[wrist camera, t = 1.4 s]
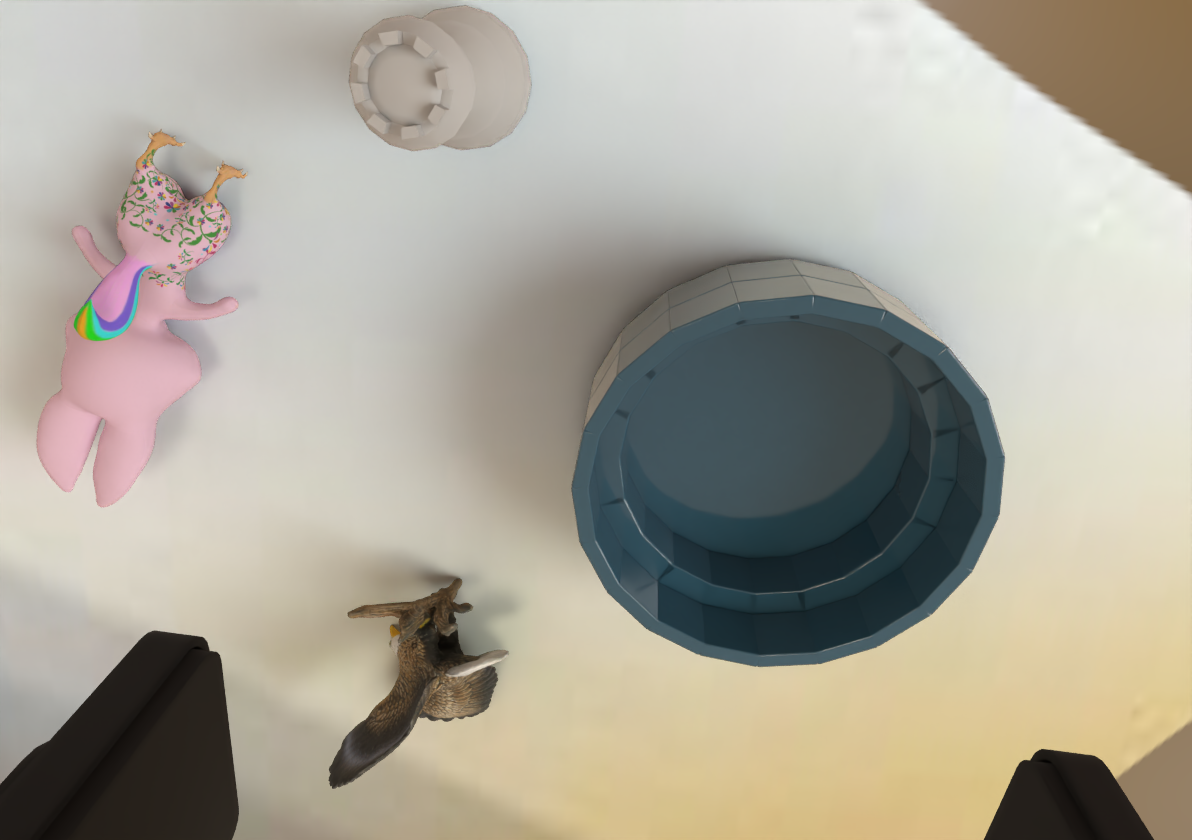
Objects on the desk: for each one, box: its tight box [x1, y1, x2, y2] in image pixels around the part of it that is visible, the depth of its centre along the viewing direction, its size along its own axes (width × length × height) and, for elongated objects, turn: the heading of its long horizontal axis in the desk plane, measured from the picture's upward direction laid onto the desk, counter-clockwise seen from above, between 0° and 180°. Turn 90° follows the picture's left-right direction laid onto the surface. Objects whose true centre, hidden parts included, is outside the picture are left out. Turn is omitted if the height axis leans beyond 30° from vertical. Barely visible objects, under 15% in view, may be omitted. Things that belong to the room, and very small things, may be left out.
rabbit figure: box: [37, 130, 248, 507], centre depth 29 cm, size 6×6×15 cm
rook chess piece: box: [349, 6, 532, 151], centre depth 23 cm, size 4×4×8 cm
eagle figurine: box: [329, 579, 509, 789], centre depth 35 cm, size 8×7×9 cm
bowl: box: [571, 259, 1005, 667], centre depth 29 cm, size 14×14×6 cm
